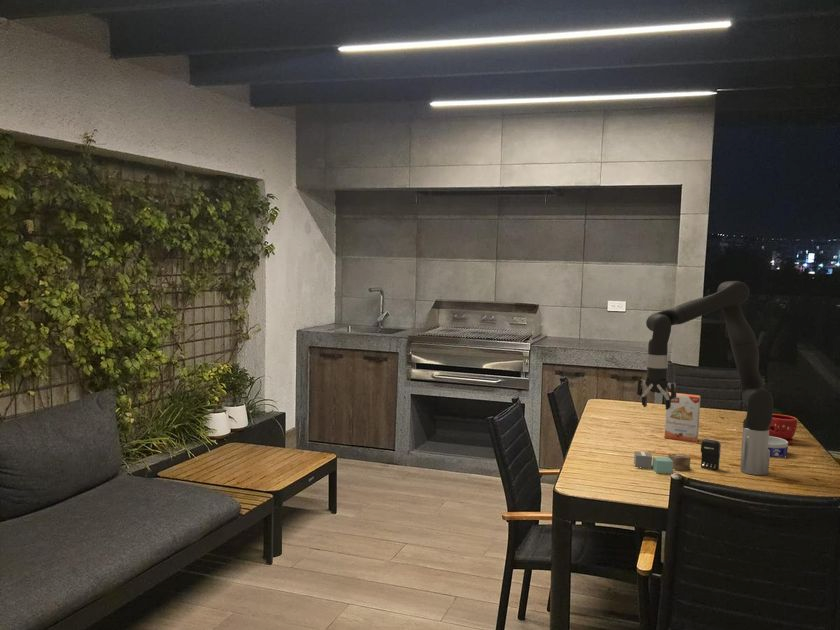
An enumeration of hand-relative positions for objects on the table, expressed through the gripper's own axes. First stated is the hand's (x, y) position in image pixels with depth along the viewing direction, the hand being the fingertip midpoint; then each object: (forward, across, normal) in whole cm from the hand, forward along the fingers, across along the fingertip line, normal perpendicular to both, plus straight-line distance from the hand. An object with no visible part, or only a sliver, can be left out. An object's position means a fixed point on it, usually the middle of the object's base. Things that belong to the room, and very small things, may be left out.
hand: (655, 408), depth 271 cm
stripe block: (+24, +5, -2) cm, 25 cm away
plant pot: (+26, -30, -85) cm, 94 cm away
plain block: (+25, -3, -1) cm, 25 cm away
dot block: (+25, -6, -10) cm, 27 cm away
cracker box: (+25, +7, -58) cm, 64 cm away
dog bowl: (+26, -29, -60) cm, 72 cm away
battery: (+25, -16, -17) cm, 34 cm away
